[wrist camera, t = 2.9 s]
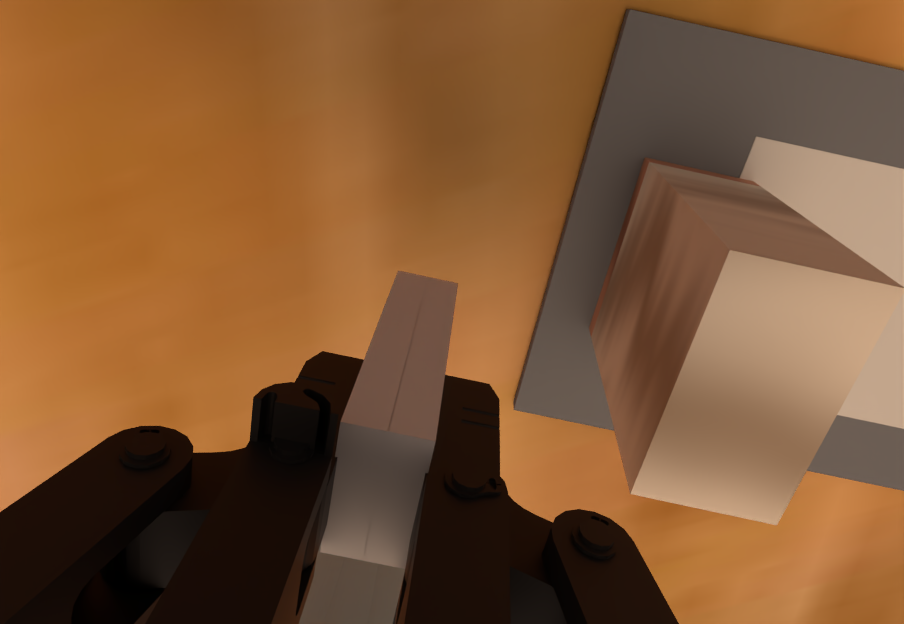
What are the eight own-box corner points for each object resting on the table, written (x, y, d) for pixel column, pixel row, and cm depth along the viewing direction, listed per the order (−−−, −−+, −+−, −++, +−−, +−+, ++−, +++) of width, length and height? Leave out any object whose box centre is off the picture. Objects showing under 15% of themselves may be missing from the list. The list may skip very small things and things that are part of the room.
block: (644, 157, 24) (729, 250, 14) (753, 181, 24) (905, 288, 15) (588, 328, 26) (630, 493, 17) (685, 349, 27) (776, 525, 17)
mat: (626, 9, 22) (630, 9, 22) (1191, 136, 23) (1209, 139, 22) (513, 402, 29) (513, 410, 28) (949, 492, 29) (959, 502, 29)
